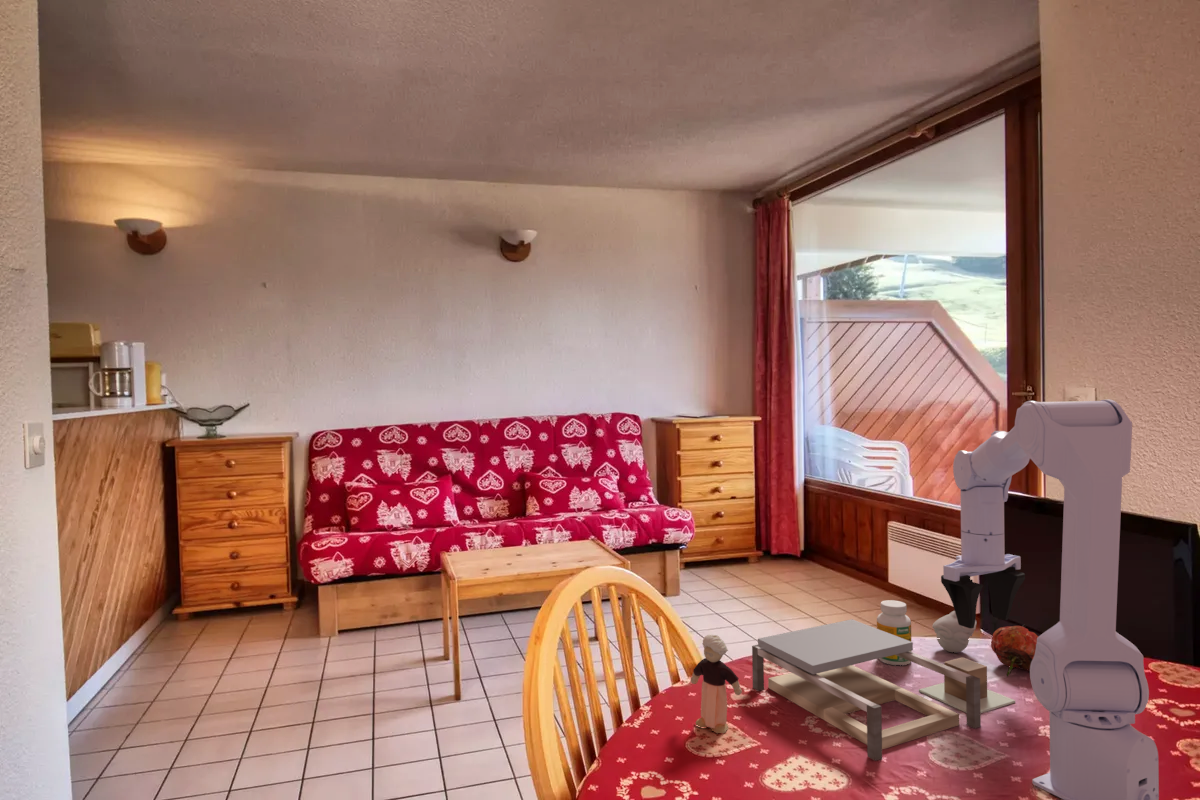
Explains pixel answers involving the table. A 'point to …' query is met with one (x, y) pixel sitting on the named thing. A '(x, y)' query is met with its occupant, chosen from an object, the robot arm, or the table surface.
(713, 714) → the grandmother figurine
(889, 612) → the supplement bottle
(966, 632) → the frog figurine
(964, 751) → the table surface
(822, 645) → the sliding cover
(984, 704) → the rubber mat
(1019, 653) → the red rounded fruit
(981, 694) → the walnut block
